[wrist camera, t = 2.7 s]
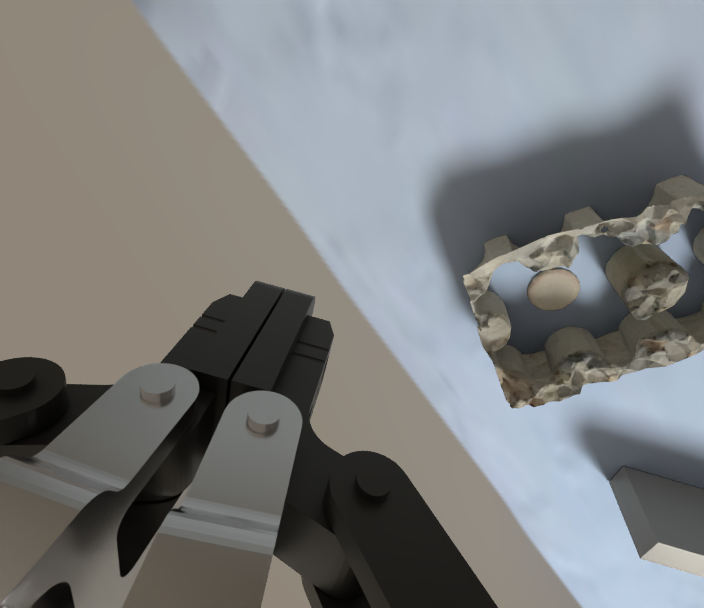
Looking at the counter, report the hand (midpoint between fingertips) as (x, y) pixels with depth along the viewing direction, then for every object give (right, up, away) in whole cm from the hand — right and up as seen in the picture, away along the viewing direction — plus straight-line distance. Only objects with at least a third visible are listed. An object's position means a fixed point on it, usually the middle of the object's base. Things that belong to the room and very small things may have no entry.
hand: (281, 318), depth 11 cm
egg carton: (+13, +2, +9) cm, 16 cm away
